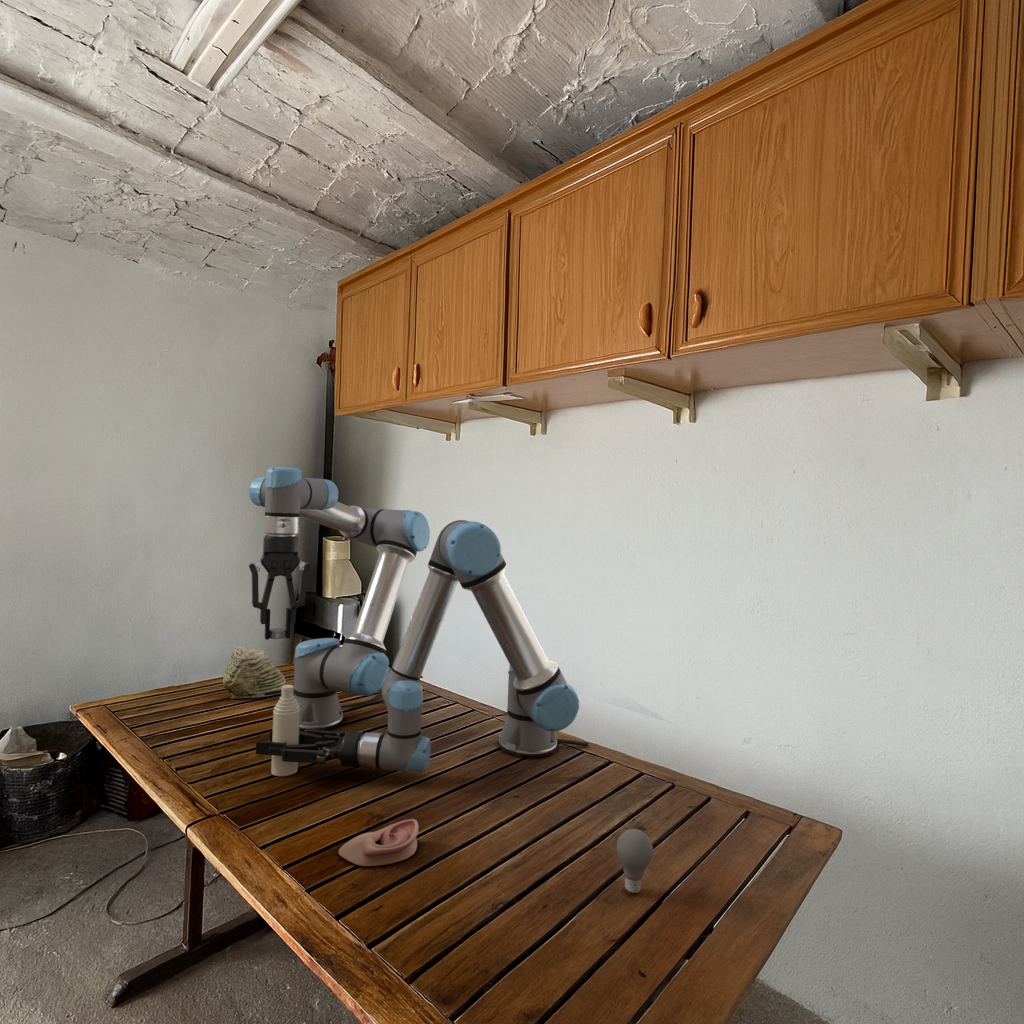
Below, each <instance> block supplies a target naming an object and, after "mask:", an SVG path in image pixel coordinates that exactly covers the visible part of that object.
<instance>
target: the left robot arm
mask: <svg viewBox="0 0 1024 1024" xmlns="http://www.w3.org/2000/svg"><path fill="white" fill-rule="evenodd" d="M248 488H249V489H248V496H249V500H250V501H251V502H252V503H253V504H254V505H255V506H257V507H261V508H264V516H263V517H264V518H263V533H264V534H265V535H264V537H263V543H262V555H261V557H260V559H259V560H257V561H255V562H250V563H249V564H248V568H249V570H250V573H251V605H252V607H253V608H255V609H259V615H260V616H259V622H260V624H261V625H264V639H265V640H266V641H267V640H270V638H269V634H270V629H271V609H270V608H268V606H269V601H270V597H271V594H272V590H273V586H274V582H275V578H276V577H284V579H285V585H286V589H287V590H286V591H287V592H286V593H287V597H288V602H289V607H286V608H285V629H286V630H287V633H286V638H285V639H286V640H287V639H291V629H292V627H291V625H292V624H295V623H296V621H297V609H298V608H301V607H304V606H305V605H306V595H307V586H308V585H307V584H308V576H309V575H308V574H309V572H310V570H311V567H312V565H311V563H309V562H305V561H302V560H301V558H300V555H299V544H300V543H299V542H300V538H299V537H298V536H297V535H298V534H300V518H302V519H305V520H307V521H311V522H313V523H316V524H319V525H322V526H325V527H327V528H331V529H334V530H337V531H339V533H340V534H341V535H342V536H343V537H345V538H348V539H351V540H354V541H357V542H358V543H361V544H365V545H368V546H370V547H375V548H376V551H377V553H378V558H377V561H376V563H375V566H374V569H373V573H372V576H371V577H370V578H371V579H370V581H369V584H368V588H367V590H366V592H365V596H364V598H363V602H362V605H361V608H360V611H359V614H358V616H357V620H356V623H355V625H354V628H353V631H352V633H351V634H350V635H348V636H346V637H345V638H344V640H343V643H342V645H340V644H341V643H340V640H339V638H335V637H322V638H313V639H308V640H304V641H302V642H299V643H298V644H297V645H296V647H295V652H294V653H295V654H294V657H293V662H294V663H293V665H294V666H293V686H294V692H293V696H294V697H295V699H296V702H298V705H299V708H300V727H299V732H301V731H303V732H305V729H314V730H324V731H330V730H332V729H335V728H337V727H339V726H340V725H342V723H343V722H344V714H343V709H345V708H352V707H357V706H361V705H366V704H370V703H372V702H374V701H376V700H377V699H378V698H379V697H380V694H382V693H381V692H382V690H381V687H382V682H383V680H384V678H385V677H386V676H387V675H388V674H389V673H390V666H389V665H390V660H389V658H388V656H387V655H386V652H387V648H386V647H385V644H384V640H385V637H386V633H387V631H388V628H389V624H390V621H391V619H392V614H393V612H394V608H395V606H396V603H397V600H398V596H399V593H400V589H401V588H402V587H401V586H402V583H403V580H404V577H405V574H406V571H407V568H408V565H409V564H410V563H411V562H414V561H415V560H416V556H417V554H418V552H423V551H424V550H425V549H427V547H428V546H429V543H430V538H431V531H430V530H431V529H430V526H429V525H430V524H429V521H428V519H427V518H426V516H425V515H424V514H423V513H422V512H420V511H416V510H410V509H405V510H404V509H387V508H386V509H384V508H367V507H362V506H358V505H347V504H344V503H342V502H339V501H338V500H339V489H338V487H337V484H335V482H333V481H332V480H329V479H325V478H313V477H303V476H302V470H301V469H300V468H297V467H288V466H287V467H285V466H271V467H269V468H268V469H267V470H266V476H260V477H256V478H254V479H253V480H252V481H251V483H250V484H249V487H248ZM261 566H262V567H263V568H264V570H265V571H266V573H267V575H266V576H267V577H266V581H265V585H264V590H263V593H262V598H261V602H260V599H259V598H260V597H259V595H260V594H259V591H260V590H259V572H260V571H261ZM298 566H299V569H298V570H299V571H300V576H299V584H298V585H299V586H298V596H297V599H296V595H295V589H294V581H293V574H292V573H293V572H294V571H295V570H296V568H297V567H298ZM423 678H424V677H423V675H421V678H420V679H423ZM338 692H341V693H345V694H349V695H353V696H356V697H357V696H361V697H370V696H372V695H375V694H376V695H375V696H374V697H373V698H370V699H367V700H363V701H358V702H353V703H347V704H341V702H340V699H339V695H338Z"/></svg>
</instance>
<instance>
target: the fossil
mask: <svg viewBox="0 0 1024 1024" xmlns="http://www.w3.org/2000/svg"><path fill="white" fill-rule="evenodd" d="M222 676H223V677H222V685H223V687H224V688H225V690H226V691H228V693H229V698H230V699H250V698H264V697H271V696H275V695H281V688H282V686H283V685H287V680H286V678H285V676H284V674H283V673H282V672H281V669H279V668H278V667H277V665H276V663H275V662H274V660H273V659H272V658H271V657H270V656H269V655H268V654H267V653H266V652H265V650H264V649H263V648H260V647H258V648H251V647H247V646H246V647H245V646H238V647H237V648H236V649H235V650H233V651H232V653H231V656H230V657H229V659H228V660H227V663H226V666H225V668H224V671H223V675H222Z"/></svg>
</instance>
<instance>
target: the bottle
mask: <svg viewBox="0 0 1024 1024" xmlns="http://www.w3.org/2000/svg"><path fill="white" fill-rule="evenodd" d="M299 727H300V708H299V705H298V702H296V699H295V697H294V684H286V685H283V686H282V688H281V693H280V697H279V699H278V700H277V703H276V704H275V706H274V707H273V710H272V730H273V731H272V742H280V743H284V742H286V745H299V732H300V731H299ZM270 758H271V759H270V761H271V762H270V774H271V775H273V776H276V777H288V776H291V775H294V774H296V773H297V772H298V770H299V762H284V761H282V756H275V755H271V757H270Z"/></svg>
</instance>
